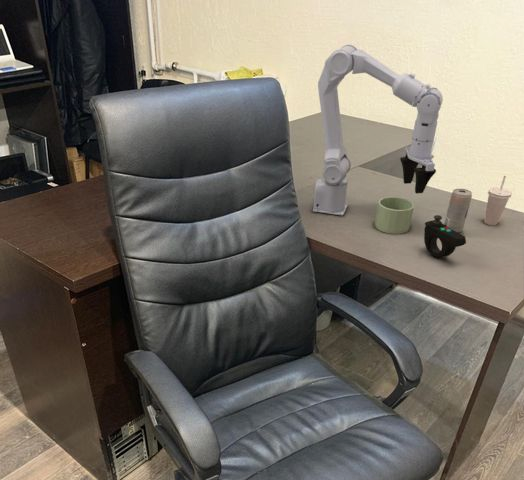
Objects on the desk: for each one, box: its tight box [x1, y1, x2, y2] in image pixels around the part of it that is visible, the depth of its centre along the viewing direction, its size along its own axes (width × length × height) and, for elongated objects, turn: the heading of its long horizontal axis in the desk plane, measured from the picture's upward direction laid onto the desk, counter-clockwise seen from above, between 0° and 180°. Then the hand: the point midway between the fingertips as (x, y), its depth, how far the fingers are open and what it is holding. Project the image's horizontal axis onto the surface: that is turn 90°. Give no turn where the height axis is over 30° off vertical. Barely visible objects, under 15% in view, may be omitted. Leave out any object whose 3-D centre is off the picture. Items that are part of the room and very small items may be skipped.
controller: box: [423, 214, 467, 259], centre depth 137 cm, size 4×12×10 cm, turn 30°
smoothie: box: [484, 175, 513, 226], centre depth 153 cm, size 6×6×14 cm
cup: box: [374, 196, 415, 235], centre depth 152 cm, size 10×10×7 cm
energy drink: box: [443, 188, 473, 235], centre depth 148 cm, size 5×5×12 cm
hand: (413, 187), depth 150 cm, fingers open, 7 cm apart
